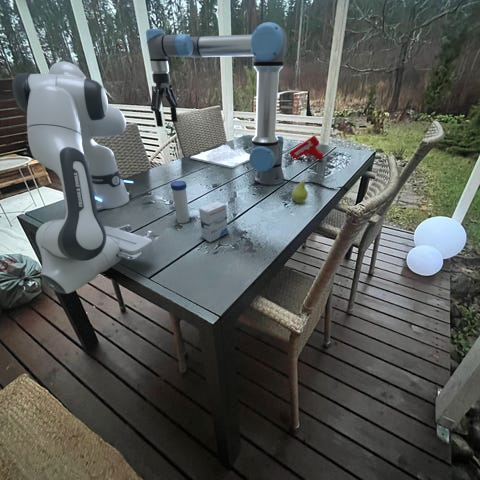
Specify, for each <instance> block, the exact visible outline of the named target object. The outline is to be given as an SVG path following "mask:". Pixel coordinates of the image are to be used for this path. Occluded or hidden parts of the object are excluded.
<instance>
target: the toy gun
mask: <svg viewBox="0 0 480 480" xmlns="http://www.w3.org/2000/svg"><path fill="white" fill-rule="evenodd" d="M319 144H320V141H319V140H318V138H317V136H316V135H312V136H311V137H310V138H308V139H306V140H305V141H302V143H300V144H299V145H297V146H296V147H294V148H293V149H291V150H290V151H289V155H290V157H291V158H292V160H294V161H295V160H298V159H299V158H301V157H302V156H304V157H305V158H308V157H310V156H312V157H313V158H314V159H315V160H316V162H318V163H319V161H322V160H323V157H324V153H323V152H322V151H320V150H319V149H318V148H317V147H318V146H319ZM294 158H296V159H294ZM317 159H319V161H317ZM320 159H321V160H320Z"/></svg>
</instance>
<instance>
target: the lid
mask: <svg viewBox="0 0 480 480" xmlns="http://www.w3.org/2000/svg"><path fill="white" fill-rule="evenodd" d="M185 188H186V189H187V183H186V181H184V180H173V181H172V182H171V183H170V189H171V191H172V190H183V189H185Z"/></svg>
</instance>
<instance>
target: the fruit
mask: <svg viewBox="0 0 480 480" xmlns="http://www.w3.org/2000/svg"><path fill="white" fill-rule="evenodd" d="M310 177H311V175H310V174H309V175H308V176H307V177H305V179H302V180H301V181H299V182H300V183H299V184H298V183H297V185H296V186H295V187H294V188H293V190H292V191H291V198H292V200H293V201H294V202H295V203H297V204H301V203H304V202H305V201H306V200H307V198H308V196H309V195H308V190H307V189H306V183H305V182H306V180H308V179H309V178H310Z"/></svg>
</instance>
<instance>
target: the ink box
mask: <svg viewBox="0 0 480 480" xmlns="http://www.w3.org/2000/svg"><path fill="white" fill-rule="evenodd" d="M198 213H199V221H200V233H201V237H202V238H203V239H204V240H205V241H207V242H209V243H211V242H213V241H216V240H217V239H219V238H221V237H223V236H226V235H227V234H228V214H227V213H228V211H227V204H226V203H224V202H221V201H219V200H217V201H213V202H211V203H208V204H205V205H204V206H201V207H198Z"/></svg>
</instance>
